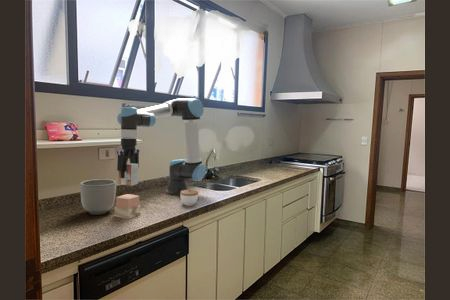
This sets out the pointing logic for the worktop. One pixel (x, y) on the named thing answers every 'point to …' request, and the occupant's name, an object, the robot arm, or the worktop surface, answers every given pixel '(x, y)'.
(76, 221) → the worktop surface
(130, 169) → the small box
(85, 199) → the planter
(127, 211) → the clear square container
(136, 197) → the terracotta block
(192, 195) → the lidded jar
